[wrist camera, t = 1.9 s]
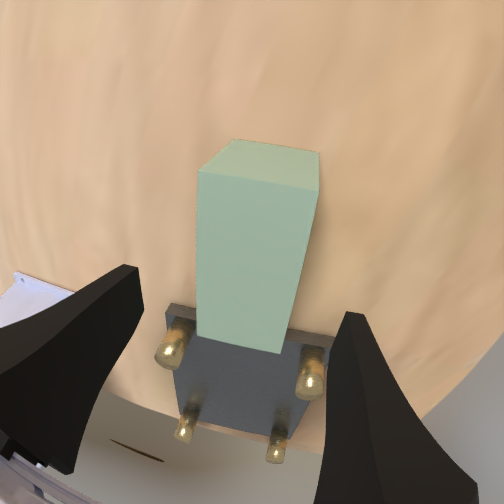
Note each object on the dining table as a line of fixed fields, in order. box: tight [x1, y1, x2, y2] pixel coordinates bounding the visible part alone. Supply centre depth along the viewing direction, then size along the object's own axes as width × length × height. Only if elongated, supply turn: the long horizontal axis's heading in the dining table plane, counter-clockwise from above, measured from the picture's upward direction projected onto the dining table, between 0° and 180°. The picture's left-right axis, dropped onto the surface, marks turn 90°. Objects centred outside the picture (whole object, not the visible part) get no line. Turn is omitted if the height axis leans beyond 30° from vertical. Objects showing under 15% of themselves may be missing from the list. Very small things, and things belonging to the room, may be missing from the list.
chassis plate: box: [155, 303, 335, 464], centre depth 23 cm, size 11×15×4 cm
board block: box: [196, 139, 319, 354], centre depth 14 cm, size 4×8×5 cm, turn 174°
